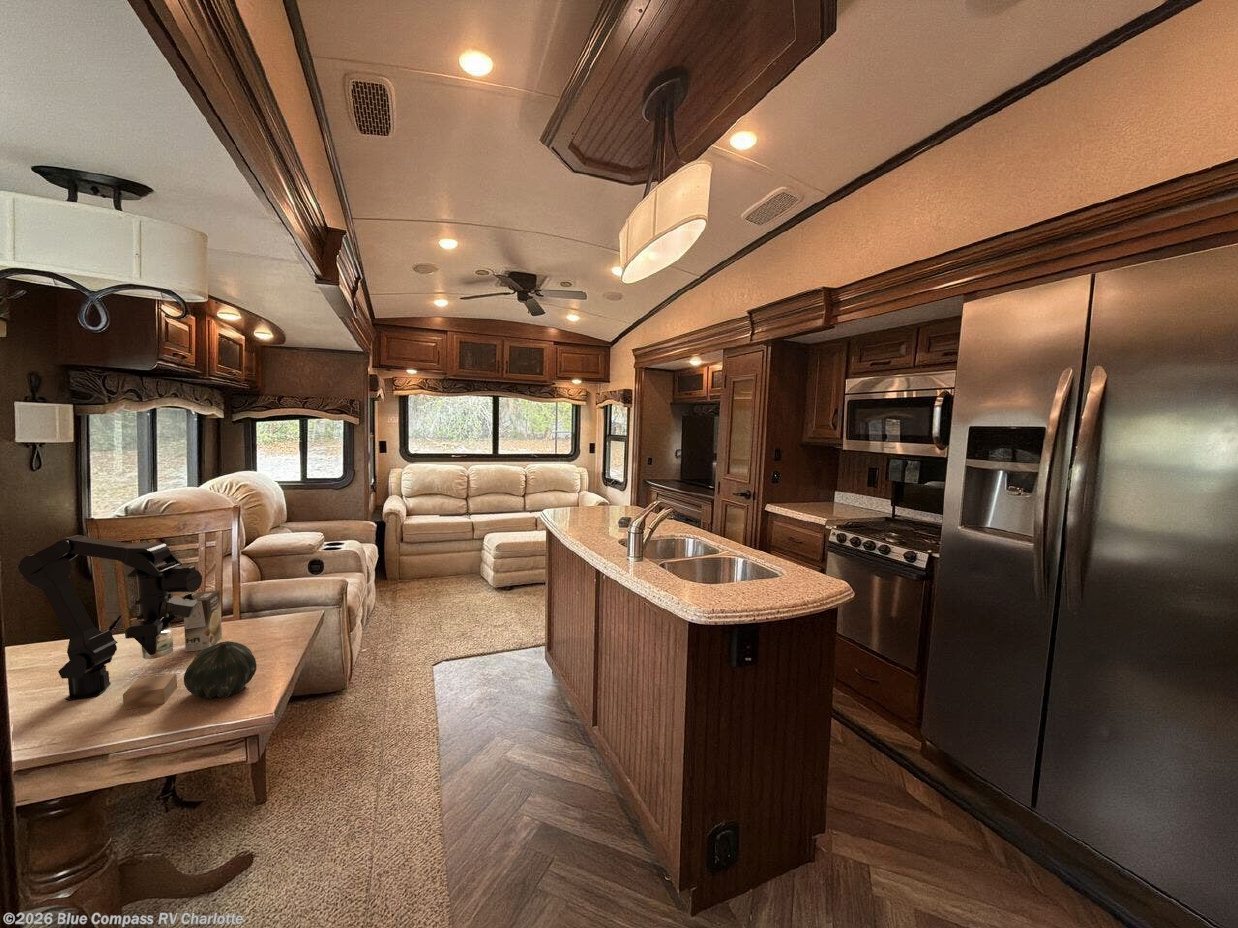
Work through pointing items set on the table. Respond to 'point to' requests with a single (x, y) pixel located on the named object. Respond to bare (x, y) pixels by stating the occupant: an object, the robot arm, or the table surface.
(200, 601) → the coffee box
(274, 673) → the table surface
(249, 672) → the squash
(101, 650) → the robot arm
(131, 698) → the block
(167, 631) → the tin
